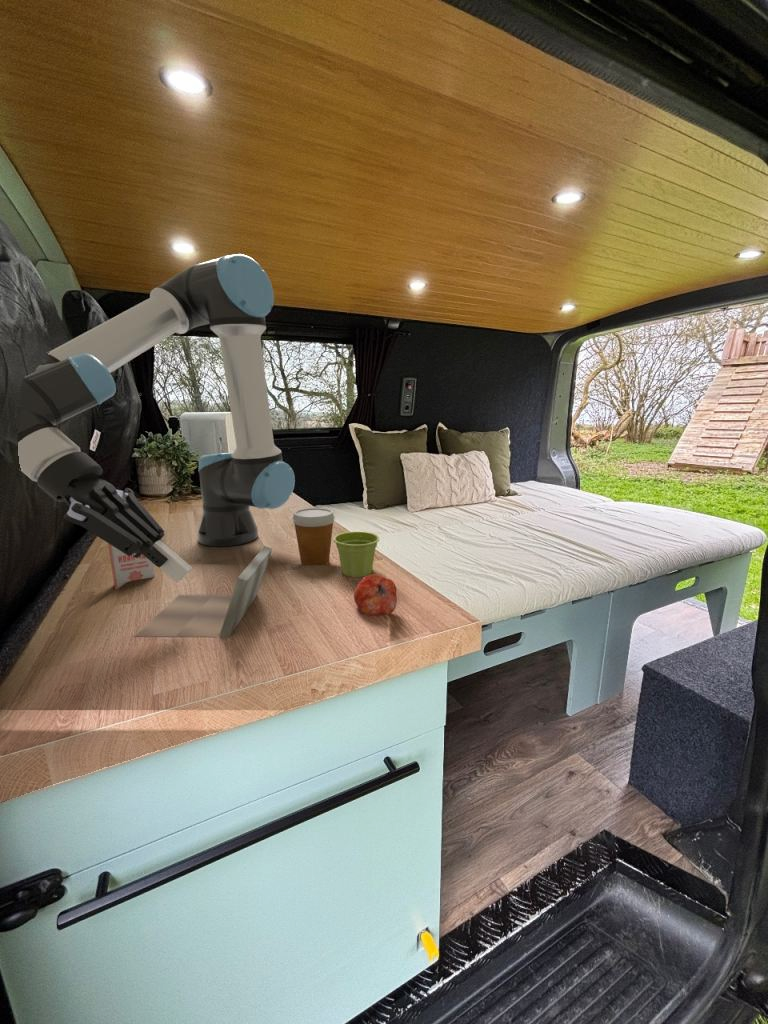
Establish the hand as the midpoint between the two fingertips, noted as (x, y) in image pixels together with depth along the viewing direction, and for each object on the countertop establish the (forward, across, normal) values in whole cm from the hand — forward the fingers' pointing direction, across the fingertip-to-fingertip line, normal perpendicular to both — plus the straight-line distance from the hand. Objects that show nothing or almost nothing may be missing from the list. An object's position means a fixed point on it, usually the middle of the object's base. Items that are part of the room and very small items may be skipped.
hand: (184, 575), depth 64 cm
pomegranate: (+27, -4, +15) cm, 32 cm away
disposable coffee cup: (+17, -28, +5) cm, 33 cm away
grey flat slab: (+9, -1, +5) cm, 11 cm away
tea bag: (-6, -16, -19) cm, 26 cm away
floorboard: (+7, -1, -6) cm, 9 cm away
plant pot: (+24, -20, +12) cm, 34 cm away
